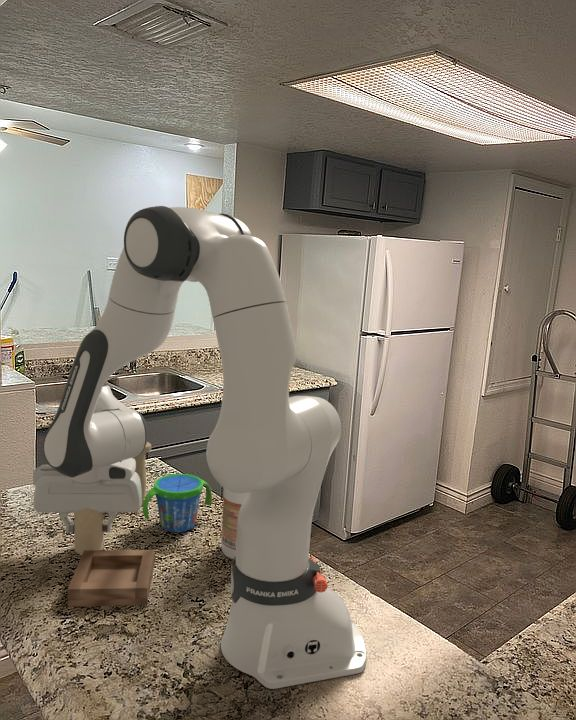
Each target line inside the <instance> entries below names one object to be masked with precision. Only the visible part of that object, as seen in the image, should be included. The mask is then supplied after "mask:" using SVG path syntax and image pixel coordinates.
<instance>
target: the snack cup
mask: <svg viewBox="0 0 576 720" xmlns="http://www.w3.org/2000/svg"><path fill="white" fill-rule="evenodd" d="M204 486H205V498H204V504H205V505H206V506H211V505H212V501H213V493H212V488H211V486H210V484H209V483H208V482H206V481H205V480H203V479H202V478H200V477H199V476H196V475H193V474H187V473H173V474H166V475H163V476H160V477H158V478H156V480H155V481H154V483H153V487H152V488H151V489H150V490H148V492H147V494H145V498H144V503H143V505H142V514H143V517H144V518H145V519H146V520H147V521H149V520H150V516H149V508H148V507H149V506H148V505H149V503H150V501H151V500H152V499H153V497H154V496H155V498H156V503H157V510H158V518H159V524H160V526H161V529H162V530H164V531H167V532H170V533H176V534H178V533H184V532H187V531H189V530H193V529H194V527H195V525H196V520H197V517H198V511H199V510H198V509H199V504H200V498H201V493H202V491H203V489H204Z"/></svg>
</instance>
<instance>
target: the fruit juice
mask: <svg viewBox="0 0 576 720" xmlns="http://www.w3.org/2000/svg"><path fill="white" fill-rule="evenodd" d="M248 494H249V493H240V494H239V493H233V492H230V491H228V490H226V489H225V488H223V495H222V498H223V499H222V518H221V520H222V521H221V542H220V546H221V551H222V553H223V555H224V556H225V557H227V558H229V559H231V560H234V557H235V556H236V541H237V520H238V514H239V510H240V508H241V505H242V504H243V502H244V500H245V499H246V497H247V496H248Z"/></svg>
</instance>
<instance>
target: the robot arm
mask: <svg viewBox="0 0 576 720" xmlns="http://www.w3.org/2000/svg"><path fill="white" fill-rule="evenodd" d="M185 281H187V282H192V283H197V282H198V283H199V284H201V286H203V288H204V290H205V291H206V295H207V297H208V302H209V307H210V311H211V317H212V321H213V326H214V330H215V334H216V340H217V344H218V350H219V355H220V361H221V366H222V375H223V376H222V378H223V379H222V380H223V381H222V385H223V386H222V397H221V398H222V399H221V407H220V412H219V416H218V419H217V423H216V424H215V427H214V429H213V431H212V432H211V434H210V436H209V438H208V441H207V445H206V451H205V454H206V461H207V465H208V468H209V471H210V473H211V475H212V477H213V478H214V480H215V482H217V483H218V485H220V487H222V488H223V489H224V488H225V489H226V490H228V491H230V492H233V493H239V494H240V493H249V494H248V496H247V497H246V499H245V500H244V502H243V504H242V505H241V508H240V510H239V514H238V520H237V541H236V556H235V557H234V559H232V567H231V569H230V570H231V571H230V594H231V595H230V596H231V604H230V610H229V615H228V619H227V623H226V627H225V630H224V631H223V632H224V633H223V635H222V637H221V641H220V649H221V653H222V655H223V657H224V659H225V660H226V661H227V662H228V663H229V664H230V665H231V666H232V667H234V668H235V669H236V670H238V671H240V672H242V673H244V674H247V675H249V676H252V677H253V678H255V679H256V681H258V682H259V683H260V684H261V685H262V686H263V687H265V688H267V689H271V690H276V689H281V688H287V687H292V686H297V685H303V684H307V683H312V682H313V683H314V682H318V681H323V680H330V679H334V678H340V677H345V676H351V675H355V674H361V673H362V672H364V669H365V668H366V664H367V646H366V643H365V640H364V637H363V634H362V632H361V630H360V628H359V626H357V624H356V622H354V621H353V620H352V618H351V614H350V611H349V609H348V607H347V605H346V603H345V600H343V598H342V596H341V595H339V594H338V593H337V592H336V591H335V590H333V589H331V588H330V587H329V583H328V581H327V578H326V576H325V575H324V574H322V572H321V567H320V565H319V564H318V563H317V561H316V559H315V558H314V556H313V555H310V556H311V558H309V554H310V543H311V534H312V533H311V532H312V521H313V517H314V512H315V508H316V504H317V500H318V498H319V492H320V489H321V486H322V484H323V480H324V477H325V474H326V470H327V466H328V464H329V461H330V458H331V455H332V454H333V451H334V450H335V449H336V447H337V445H338V443H339V441H340V439H341V436H342V423H341V421H342V420H341V417H340V415H339V413H338V411H337V410H336V408H335V406H333V405H332V403H330V402H329V401H327V399H324V398H322V397H319V396H311V395H294V396H290V382H291V381H290V379H291V374H292V370H293V368H294V365H295V364H296V361H297V358H298V347H297V343H296V339H295V334H294V330H293V325H292V321H291V315H290V312H289V307H288V303H287V299H286V294H285V290H284V288H283V284H282V282H281V281H282V280H281V276H280V274H279V272H278V269H277V266H276V265H275V261H274V259H273V257H272V254H271V252H270V250H269V248H268V246H267V245H266V243H265V242H264V241H263V240H261V239H260V238H258V237H257V236H253V234H252V233H251V230H250V229H249V227H248V226H247V225H246V224H245V223H244V222H243V221H241V220H240V219H238V218H237V217H235V216H232V215H230V214H227V213H216V212H211V211H207V210H204V209H203V210H202V209H200V208H197V207H184V206H183V207H182V206H179V207H178V206H175V207H168V206H164V205H157V206H156V205H155V206H149V207H145V208H142V209H139V210H138V211H136V212H134V214H132V215H131V217H130V218H129V220H128V222H127V224H126V227H125V229H124V234H123V248H122V250H121V253H120V256H119V258H118V261H117V264H116V267H115V270H114V273H113V276H112V280H111V285H110V290H109V293H108V299H107V302H106V306H105V308H104V311H103V312H102V315H101V317H100V319H99V320H98V321H97V324H96V325H95V326H94V327H93V328H92V330H91V331H89V333H87V334H86V335H85V336H84V338H83V339H82V340H81V343H80V345H79V347H78V350H77V352H76V355H75V358H74V360H73V363H72V366H71V370H70V372H69V374H68V378H67V380H66V381H67V382H66V384H65V387H64V390H63V393H62V395H61V399H60V402H59V404H58V408H57V410H56V413H55V416H54V418H53V419H52V421H51V423H50V424H49V427H48V429H47V430H46V433H45V434H44V435H45V436H44V439H43V444H42V448H43V456H44V459H45V461H46V463H47V464H40V466H38V467H35V469H33V472H32V483H33V484H34V486H35V487H34V493H33V504H32V505H33V509H34V510H35V511H36V512H37V513H40V514H43V513H45V514H46V513H48V514H49V513H51V514H52V513H53V514H54V513H56V514H58V513H59V518H60V519H61V521H62V522H63V524H64V525H65V533H66V534H69V533H70V534H71V533H74V520H72V519H71V518H70V516H69V514H70V513H73V514H74V513H75V512H77V511H79V510H81V509H83V508H90V509H92V510H95V511H97V512H104V513H107V514H108V517H109V519H108V520H104V523H103V532H104V533H111V531H112V525H113V524H112V523H114V521H115V519H116V516H117V514H118V513H137V512H138V511H140V509H141V507H142V506H143V505H142V489H141V482H140V478H139V475H138V474H137V473H136V472H135V469H136V461H135V459H133V457H135V456H137V455H140V454H141V453H142V452H143V450H144V449H145V447H146V444H147V442H148V439H149V430H148V424H147V421H146V420H145V417H144V416H143V415H142V414H141V413H140V412H139V411H138V410H136V409H134V408H132V407H128V406H127V405H125V404H124V403H122V402H121V401H120V400H119V399H117V398H116V397H115V395H113V392H112V390H111V387H110V386H109V385H108V384H105V383H106V382H107V380H109V378H110V377H111V376H112V375H113V374H114V373H116V372H117V371H119V370H120V369H121V368H123V367H124V366H126V365H128V364H129V363H132V362H134V361H135V360H137V359H140V358H142V357H145V356H147V355H149V354H150V353H153V352H154V351H155V350H156V349H158V348H160V346H162V345H163V344H164V342H166V340H167V337H168V336H169V333H170V331H171V328H172V325H173V321H174V319H175V311H176V308H177V302H178V297H179V296H178V295H179V292H180V288H181V287H182V285H183V283H184V282H185ZM141 505H142V506H141Z"/></svg>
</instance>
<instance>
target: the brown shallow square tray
mask: <svg viewBox="0 0 576 720" xmlns="http://www.w3.org/2000/svg"><path fill="white" fill-rule="evenodd" d="M76 566H77V567H76V568H75V571H74V573H73V576H72V578H71V580H70V583H69V585H68V588H67V607H69V608H70V607H71V608H72V607H73V608H74V607H75V608H76V607H116V606H115V605H130V606H148V601H149V596H150V591H151V585H152V580H153V574H154V570H155V549H116V550H114V549H106V550H105V549H102V550H84V552H83V554H82V555H81V556H80V558H79V562H78V564H77V565H76Z"/></svg>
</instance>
